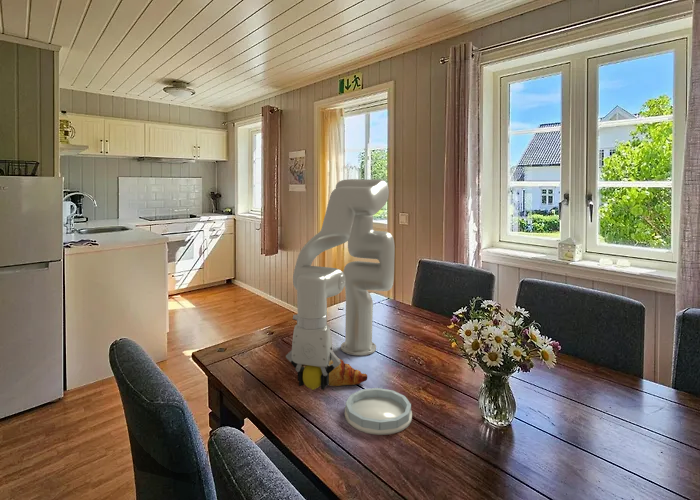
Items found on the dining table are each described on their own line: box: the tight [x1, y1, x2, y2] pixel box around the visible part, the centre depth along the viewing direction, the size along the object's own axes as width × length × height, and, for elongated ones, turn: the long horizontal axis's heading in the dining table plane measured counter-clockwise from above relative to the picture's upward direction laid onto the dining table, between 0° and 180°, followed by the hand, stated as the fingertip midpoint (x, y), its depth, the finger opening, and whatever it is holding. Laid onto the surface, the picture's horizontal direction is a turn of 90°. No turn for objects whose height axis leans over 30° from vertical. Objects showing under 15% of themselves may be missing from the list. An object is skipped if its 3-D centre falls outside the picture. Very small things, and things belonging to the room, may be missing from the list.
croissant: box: [304, 358, 368, 387], centre depth 122 cm, size 21×10×8 cm
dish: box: [344, 387, 413, 436], centre depth 103 cm, size 17×17×3 cm
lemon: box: [303, 365, 322, 391], centre depth 108 cm, size 6×6×8 cm
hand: (313, 384), depth 109 cm, fingers closed on lemon, 5 cm apart
